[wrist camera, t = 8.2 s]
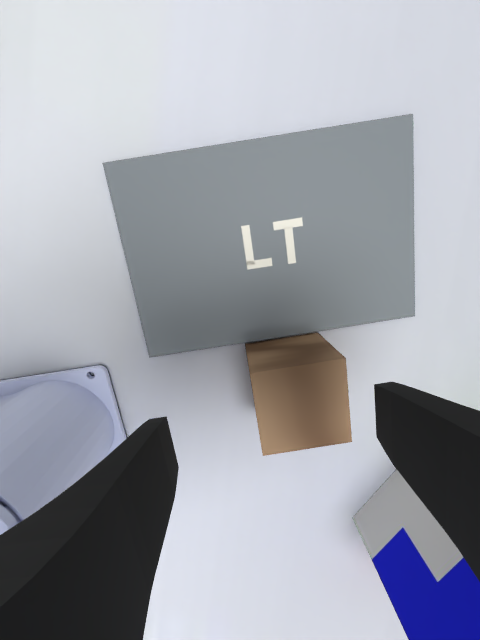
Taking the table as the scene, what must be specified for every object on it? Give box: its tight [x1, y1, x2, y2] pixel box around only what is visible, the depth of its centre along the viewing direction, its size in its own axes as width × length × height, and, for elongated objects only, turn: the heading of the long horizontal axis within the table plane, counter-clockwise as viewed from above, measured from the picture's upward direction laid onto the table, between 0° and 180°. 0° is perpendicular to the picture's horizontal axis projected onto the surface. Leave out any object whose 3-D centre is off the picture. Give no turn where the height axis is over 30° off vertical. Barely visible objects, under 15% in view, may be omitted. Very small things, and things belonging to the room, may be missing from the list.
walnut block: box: [245, 332, 352, 456], centre depth 18 cm, size 5×5×5 cm
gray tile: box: [103, 114, 415, 358], centre depth 18 cm, size 18×12×1 cm, turn 99°
